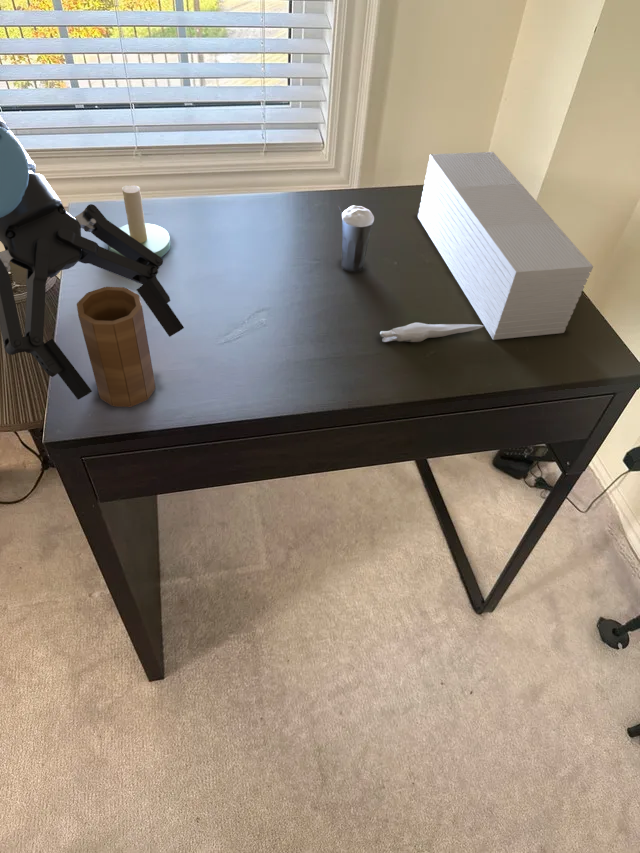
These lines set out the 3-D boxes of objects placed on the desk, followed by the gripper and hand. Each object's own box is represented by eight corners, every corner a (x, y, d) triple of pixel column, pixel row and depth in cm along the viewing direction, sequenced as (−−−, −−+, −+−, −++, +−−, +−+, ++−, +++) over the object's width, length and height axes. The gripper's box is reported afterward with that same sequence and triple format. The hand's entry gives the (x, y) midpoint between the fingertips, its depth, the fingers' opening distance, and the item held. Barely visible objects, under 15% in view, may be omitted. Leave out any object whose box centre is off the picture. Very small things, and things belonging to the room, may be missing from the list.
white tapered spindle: (381, 348, 84) (383, 337, 83) (375, 335, 86) (377, 324, 84) (486, 337, 87) (490, 326, 86) (478, 325, 89) (482, 314, 87)
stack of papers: (417, 217, 107) (429, 153, 99) (476, 214, 109) (493, 151, 101) (492, 340, 86) (516, 272, 79) (563, 333, 89) (593, 266, 81)
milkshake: (328, 260, 97) (333, 198, 90) (361, 256, 98) (369, 194, 91) (337, 277, 94) (343, 214, 87) (371, 272, 95) (380, 210, 88)
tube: (102, 412, 73) (80, 329, 64) (96, 373, 77) (74, 290, 68) (159, 401, 75) (145, 319, 66) (149, 364, 79) (135, 282, 70)
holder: (113, 266, 92) (101, 208, 86) (105, 233, 98) (94, 177, 91) (175, 258, 95) (169, 201, 88) (165, 226, 100) (158, 171, 94)
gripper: (-106, 223, 56) (51, 420, 61) (114, 133, 70) (225, 300, 76) (-114, 253, 61) (30, 431, 67) (91, 165, 76) (195, 318, 82)
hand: (133, 362), depth 71 cm, fingers open, 13 cm apart
